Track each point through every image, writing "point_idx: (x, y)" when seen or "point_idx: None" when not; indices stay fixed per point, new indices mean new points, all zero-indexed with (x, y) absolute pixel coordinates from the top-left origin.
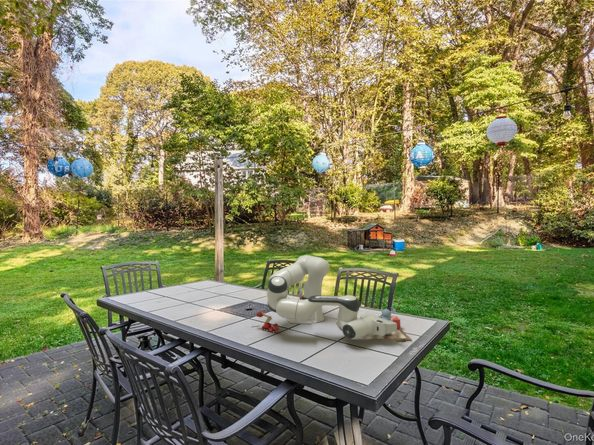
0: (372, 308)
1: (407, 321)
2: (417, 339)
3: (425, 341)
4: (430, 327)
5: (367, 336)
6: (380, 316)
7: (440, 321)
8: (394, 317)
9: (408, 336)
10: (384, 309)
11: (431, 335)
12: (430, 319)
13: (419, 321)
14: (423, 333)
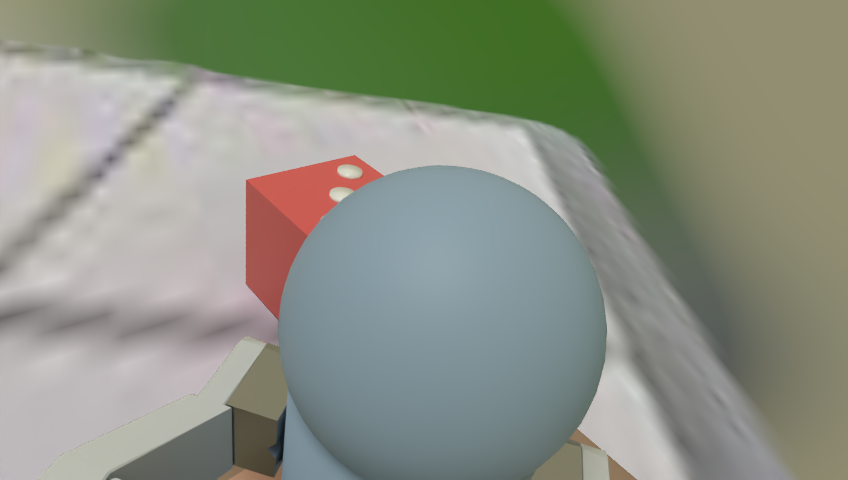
0: (68, 51)
1: (384, 158)
2: (682, 452)
3: (766, 461)
4: (560, 197)
5: None
6: (214, 381)
7: (542, 129)
8: (350, 181)
9: (626, 473)
10: (409, 217)
11: (671, 307)
12: (486, 119)
13: (451, 146)
14: (604, 296)
